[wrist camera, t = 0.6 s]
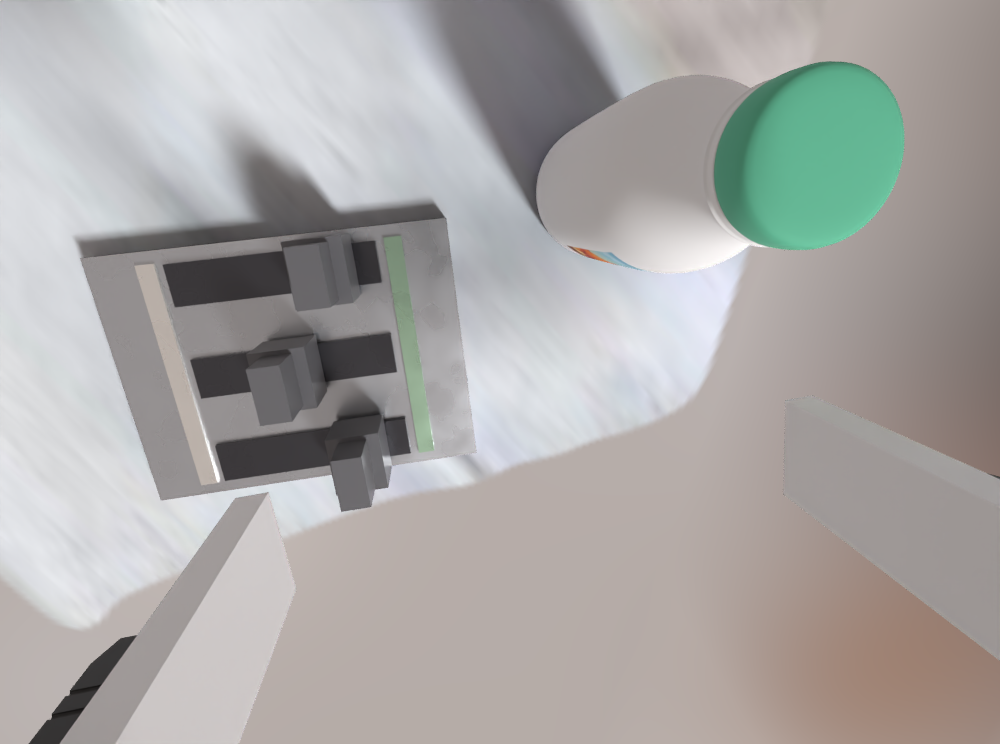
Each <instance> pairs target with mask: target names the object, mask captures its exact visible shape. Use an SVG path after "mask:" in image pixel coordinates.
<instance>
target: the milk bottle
mask: <svg viewBox="0 0 1000 744" xmlns="http://www.w3.org/2000/svg"><path fill="white" fill-rule="evenodd" d="M903 152H904V126H903V120H902V116H901V112H900V109H899V106H898V103H897V101H896V99H895V97H894V95H893V94H892V92H891V90H890V89H889V88H888V86H887V85H886V84H885V83H884V82H883V81H882V80H881V79H880V78H879V77H878V76H877V75H876V74H874V73H873V72H871V71H870V70H868V69H866V68H864V67H861V66H859V65H856V64H852V63H847V62H819V63H814V64H810V65H807V66H804V67H801V68H797V69H794V70H791V71H789V72H787V73H784V74H782V75H780V76H778V77H776V78H774V79H771V80H768V81H765V82H762V83H760V84H758V85H756V86H754V87H752V88H749V87H747V86H745V85H743V84H741V83H738V82H736V81H733V80H730V79H726V78H722V77H717V76H710V75H689V76H680V77H675V78H671V79H667V80H663V81H660V82H657V83H654V84H652V85H649V86H647V87H645V88H643V89H641V90H639V91H637V92H635V93H632V94H630V95H628V96H627V97H625V98H623V99H621V100H620V101H618V102H616V103H615V104H613V105H611V106H609V107H608V108H606V109H604V110H603V111H601V112H599V113H597V114H596V115H594V116H593V117H591V118H589V119H588V120H586V121H584V122H583V123H581V124H580V125H578V126H576V127H575V128H573V129H572V130H570V131H569V132H568V133H566V134H565V135H564V136H562V137H561V138H560V139H559V140H558V141H557V142H556V143H555V144H554V145H553V147H552V148H551V149H550V150H549V152H548V154H547V155H546V157H545V159H544V161H543V163H542V165H541V168H540V171H539V174H538V179H537V186H536V200H537V207H538V211H539V215H540V217H541V220H542V222H543V224H544V226H545V228H546V229H547V231H548V232H549V234H550V235H551V236H552V237H553V238H554V239H555V241H557V242H558V243H559V244H560V245H561V246H563V247H564V248H566V249H568V250H569V251H572V252H574V253H576V254H579V255H582V256H585V257H589V258H592V259H596V260H600V261H604V262H607V263H611V264H615V265H620V266H624V267H628V268H632V269H637V270H643V271H649V272H656V273H685V272H692V271H697V270H701V269H705V268H708V267H711V266H714V265H717V264H719V263H721V262H723V261H725V260H728V259H730V258H731V257H733V256H735V255H737V254H738V253H740V252H741V251H742V250H744V249H745V248H747V247H748V246H749V245H752V246H757V247H773V248H779V249H787V250H810V249H816V248H821V247H824V246H828V245H831V244H834V243H837V242H839V241H841V240H844V239H845V238H847V237H849V236H851V235H853V234H854V233H855V232H857V231H858V230H860V229H861V228H862V227H863V226H865V225H866V224H867V223H868V222H869V221H870V220H871V219H872V218H873V217H874V216H875V214H876V213H877V212H878V211H879V210H880V208H881V207H882V206H883V204H884V203H885V201H886V200H887V198H888V196H889V194H890V193H891V191H892V189H893V187H894V184H895V182H896V179H897V177H898V174H899V171H900V167H901V163H902V158H903Z"/></svg>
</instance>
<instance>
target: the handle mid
mask: <svg viewBox="0 0 1000 744" xmlns="http://www.w3.org/2000/svg"><path fill="white" fill-rule="evenodd" d="M246 356H247V360H248V364H249V367H248V368H247V369H246V373H247V377H248V381H249V385H250V389H251V393H252V396H253V400H254V404H255V408H256V412H257V416H258V420H259V423H260V426H265V425H272V424H279V423H286V422H293V420H294V419H295V417H296V416H297V414H298V413H299V411H300V410H306V409H313V408H318V406H319V404H320V402H321V401H322V399H323V397H324V396H325V394H326V392H327V387H326V382H325V377H324V373H323V368H322V363H321V359H320V354H319V349H318V345H317V340H316V335H312V336H304V337H296V338H288V339H280V340H273V341H265V342H262V343H261V344H259V345H258V346H257V347H255V348H254V349H253V350H251V351H250V352H249V353H247V354H246Z"/></svg>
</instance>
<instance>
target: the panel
mask: <svg viewBox="0 0 1000 744" xmlns="http://www.w3.org/2000/svg"><path fill="white" fill-rule="evenodd" d="M347 233H349V234H350V239H351V245H352V250H353V256H354V261H355V266H356V272H357V277H358V283H359V288H360V294H361V295H360V296H359V297H358V299H357V300H356V301H355V302H354V303H350V304H342V305H334V306H332V307H331V308H323V309H315V310H307V311H299V312H297V310H295V305H294V301H293V296H292V292H291V287H290V283H289V278H288V274H287V269H286V265H285V260H284V256H283V251H282V247H281V242H282V241H288V240H294V239H303V238H311V237H320V236H329V235H338V234H347ZM80 259H81V262H82V265H83V268H84V271H85V274H86V277H87V280H88V283H89V286H90V289H91V292H92V295H93V298H94V301H95V304H96V307H97V310H98V313H99V316H100V319H101V322H102V325H103V328H104V331H105V334H106V337H107V340H108V343H109V346H110V349H111V352H112V355H113V358H114V361H115V364H116V367H117V370H118V373H119V376H120V379H121V382H122V385H123V388H124V391H125V394H126V397H127V400H128V403H129V406H130V409H131V412H132V415H133V418H134V421H135V424H136V427H137V430H138V433H139V436H140V439H141V442H142V445H143V448H144V451H145V454H146V457H147V460H148V463H149V466H150V469H151V472H152V475H153V478H154V481H155V484H156V487H157V490H158V493H159V496H160V499H161V500H167V499H174V498H181V497H187V496H194V495H200V494H207V493H214V492H220V491H227V490H234V489H240V488H247V487H253V486H260V485H267V484H273V483H280V482H287V481H293V480H300V479H306V478H313V477H320V476H326V475H332V472H331V468H330V463H329V459H328V454H327V450H326V445H325V439H326V437H327V435H328V433H329V430H330V428H331V426H332V424H333V422H334V421H339V420H346V419H353V418H360V417H367V416H374V415H381V414H383V419H384V424H385V430H386V435H387V441H388V446H389V452H390V457H391V463H392V466H393V465H399V464H406V463H412V462H419V461H426V460H432V459H439V458H446V457H452V456H459V455H465V454H472V453H477V452H476V445H475V437H474V429H473V422H472V414H471V406H470V399H469V391H468V383H467V376H466V368H465V360H464V353H463V345H462V337H461V330H460V322H459V314H458V307H457V299H456V291H455V284H454V276H453V268H452V261H451V253H450V245H449V238H448V230H447V222H446V218H439V219H430V220H421V221H412V222H403V223H394V224H385V225H376V226H367V227H358V228H349V229H340V230H331V231H322V232H313V233H304V234H295V235H286V236H277V237H268V238H259V239H250V240H241V241H232V242H223V243H214V244H205V245H196V246H187V247H178V248H169V249H160V250H151V251H142V252H133V253H124V254H115V255H106V256H97V257H88V258H80ZM312 335H316V340H317V345H318V349H319V354H320V359H321V363H322V368H323V373H324V377H325V382H326V387H327V392H326V394H325V396H324V397H323V399H322V401H321V402H320V404H319V406H318V408H313V409H306V410H300V411H299V413H298V414H297V416H296V417H295V419H294V420H293V422H286V423H279V424H272V425H265V426H260V423H259V420H258V416H257V412H256V408H255V404H254V400H253V396H252V393H251V389H250V385H249V381H248V377H247V373H246V369H247V368H248V367H249V364H248V360H247V356H246V354H247V353H249V352H250V351H251V350H253V349H254V348H255V347H257V346H258V345H259V344H261V343H262V342H265V341H273V340H280V339H288V338H296V337H304V336H312Z"/></svg>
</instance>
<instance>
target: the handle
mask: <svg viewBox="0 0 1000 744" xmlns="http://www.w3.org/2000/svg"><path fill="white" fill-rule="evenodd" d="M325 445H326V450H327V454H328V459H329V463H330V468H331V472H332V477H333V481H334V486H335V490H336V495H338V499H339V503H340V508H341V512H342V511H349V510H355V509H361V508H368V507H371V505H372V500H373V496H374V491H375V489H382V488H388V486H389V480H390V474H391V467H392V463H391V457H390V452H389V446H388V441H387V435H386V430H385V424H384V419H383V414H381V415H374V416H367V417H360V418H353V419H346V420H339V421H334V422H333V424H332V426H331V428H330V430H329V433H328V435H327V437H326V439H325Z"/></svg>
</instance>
